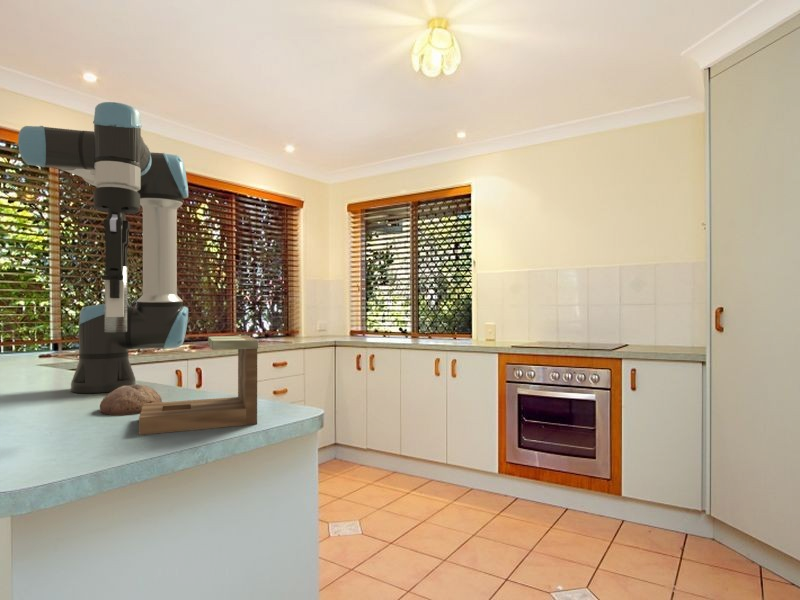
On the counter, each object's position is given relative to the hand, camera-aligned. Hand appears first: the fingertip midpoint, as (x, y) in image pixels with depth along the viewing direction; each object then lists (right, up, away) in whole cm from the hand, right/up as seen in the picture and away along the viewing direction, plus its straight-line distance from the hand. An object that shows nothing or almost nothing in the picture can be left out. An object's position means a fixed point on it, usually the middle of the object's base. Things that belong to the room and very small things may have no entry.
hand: (116, 316), depth 93 cm
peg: (0, -3, 0) cm, 3 cm away
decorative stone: (-6, -21, +17) cm, 28 cm away
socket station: (+13, -21, +6) cm, 25 cm away
